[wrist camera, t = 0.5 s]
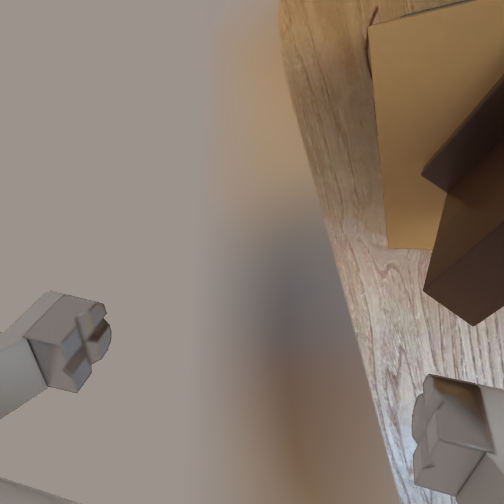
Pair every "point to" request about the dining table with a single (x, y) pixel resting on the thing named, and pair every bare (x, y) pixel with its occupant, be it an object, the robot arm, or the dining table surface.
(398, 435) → the dining table surface
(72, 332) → the robot arm
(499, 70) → the toy box
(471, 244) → the brown upright sign stand
